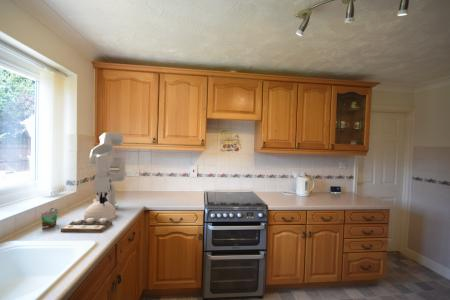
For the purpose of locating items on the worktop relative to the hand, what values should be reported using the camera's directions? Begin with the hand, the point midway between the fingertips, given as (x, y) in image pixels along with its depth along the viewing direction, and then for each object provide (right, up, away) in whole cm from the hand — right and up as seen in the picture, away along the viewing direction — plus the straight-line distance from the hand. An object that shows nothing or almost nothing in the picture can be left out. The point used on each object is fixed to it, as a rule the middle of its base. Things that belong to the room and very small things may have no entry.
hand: (102, 203), depth 137 cm
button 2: (0, -12, 0) cm, 12 cm away
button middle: (-8, -12, 0) cm, 14 cm away
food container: (-32, -15, 0) cm, 35 cm away
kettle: (-11, -15, +17) cm, 26 cm away
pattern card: (-8, -13, -6) cm, 17 cm away
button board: (-8, -15, -2) cm, 17 cm away
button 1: (-16, -13, 0) cm, 20 cm away
